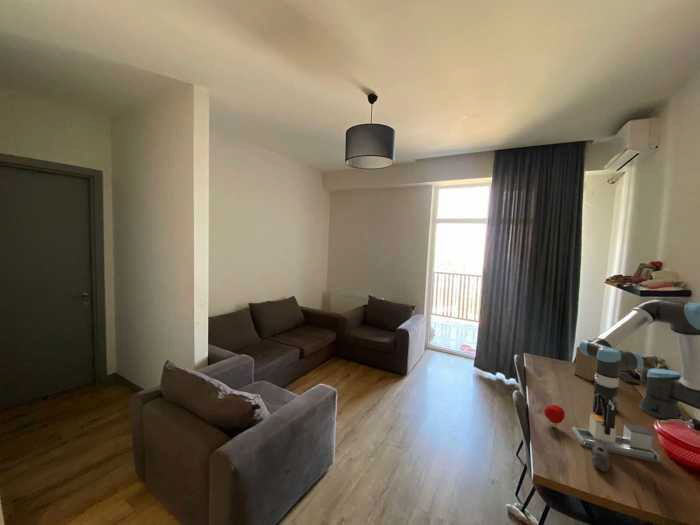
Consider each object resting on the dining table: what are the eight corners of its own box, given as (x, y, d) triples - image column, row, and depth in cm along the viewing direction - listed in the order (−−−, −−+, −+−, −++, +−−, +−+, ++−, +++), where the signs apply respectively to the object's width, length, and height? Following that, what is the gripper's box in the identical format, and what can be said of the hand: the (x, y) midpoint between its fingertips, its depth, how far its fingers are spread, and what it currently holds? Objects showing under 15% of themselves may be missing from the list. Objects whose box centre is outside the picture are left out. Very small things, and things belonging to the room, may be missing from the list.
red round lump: (552, 433, 131) (554, 412, 130) (538, 423, 138) (540, 403, 137) (568, 430, 133) (569, 409, 133) (553, 421, 140) (555, 401, 140)
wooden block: (573, 375, 194) (575, 346, 193) (584, 373, 197) (586, 345, 196) (589, 381, 185) (592, 351, 184) (600, 380, 188) (602, 350, 186)
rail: (643, 446, 124) (645, 424, 123) (659, 462, 114) (661, 439, 114) (571, 431, 132) (573, 411, 132) (581, 445, 123) (582, 423, 122)
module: (608, 434, 126) (609, 417, 125) (614, 442, 121) (616, 424, 120) (588, 430, 128) (590, 413, 128) (594, 438, 123) (596, 420, 122)
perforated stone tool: (592, 449, 121) (593, 434, 120) (608, 456, 117) (610, 440, 117) (590, 469, 110) (591, 452, 109) (608, 477, 106) (610, 459, 106)
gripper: (586, 373, 133) (581, 421, 134) (606, 392, 116) (601, 447, 117) (605, 376, 130) (601, 425, 132) (629, 396, 113) (624, 452, 114)
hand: (601, 435), depth 124 cm, fingers closed on module, 5 cm apart
